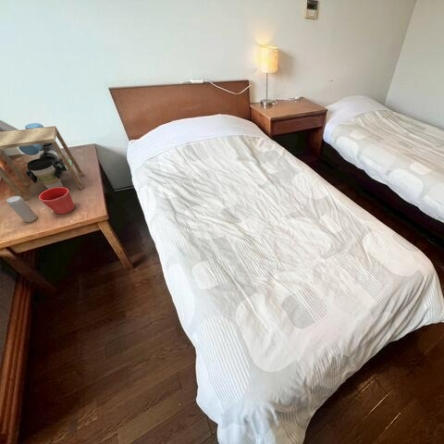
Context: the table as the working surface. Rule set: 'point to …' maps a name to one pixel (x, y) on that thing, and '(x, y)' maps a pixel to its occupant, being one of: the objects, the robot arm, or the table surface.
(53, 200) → the flower pot
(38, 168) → the coffee cup
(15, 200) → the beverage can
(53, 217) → the table surface
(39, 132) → the wooden frame stand
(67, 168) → the felt mat
